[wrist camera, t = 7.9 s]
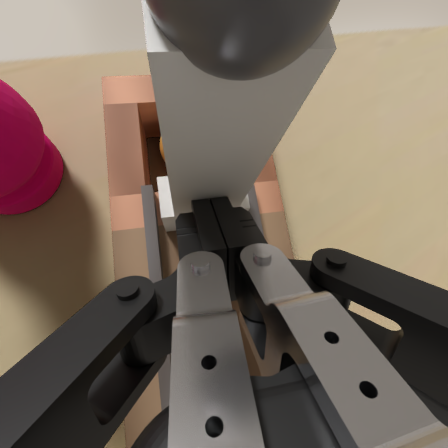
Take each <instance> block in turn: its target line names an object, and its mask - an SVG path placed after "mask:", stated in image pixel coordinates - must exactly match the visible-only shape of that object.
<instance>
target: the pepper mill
mask: <svg viewBox="0 0 448 448" xmlns="http://www.w3.org/2000/svg"><path fill="white" fill-rule="evenodd" d="M62 176H63V161H62V157H61V155H60V153H59V151H58V149H57V148H56V146H55V145H54V144H53V143H52V142H51V141H50V140H49V139H48V137H47V136H46V135H45V134H44V132H43V127H42V124H41V122H40V120H39V118H38V116H37V114H36V113H35V111H34V109H33V108H32V107H31V106H30V105H29V104H28V102H27V101H26V100H25V99H23V98H22V97H21V96H20V95H19V94H18V93H17V92H16V91H15V90H14V89H13V88H12V87H10V86H9V85H8V84H7V83H5V82H3V81H2V80H0V214H7V215H10V214H19V213H24V212H27V211H30V210H32V209H34V208H37V207H38V206H40V205H42V204H43V203H44V202H46V201H47V200H48V199H49V198H50V197H52V195H53V194H54V193H55V191H56V190H57V188H58V187H59V184H60V182H61V179H62Z"/></svg>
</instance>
